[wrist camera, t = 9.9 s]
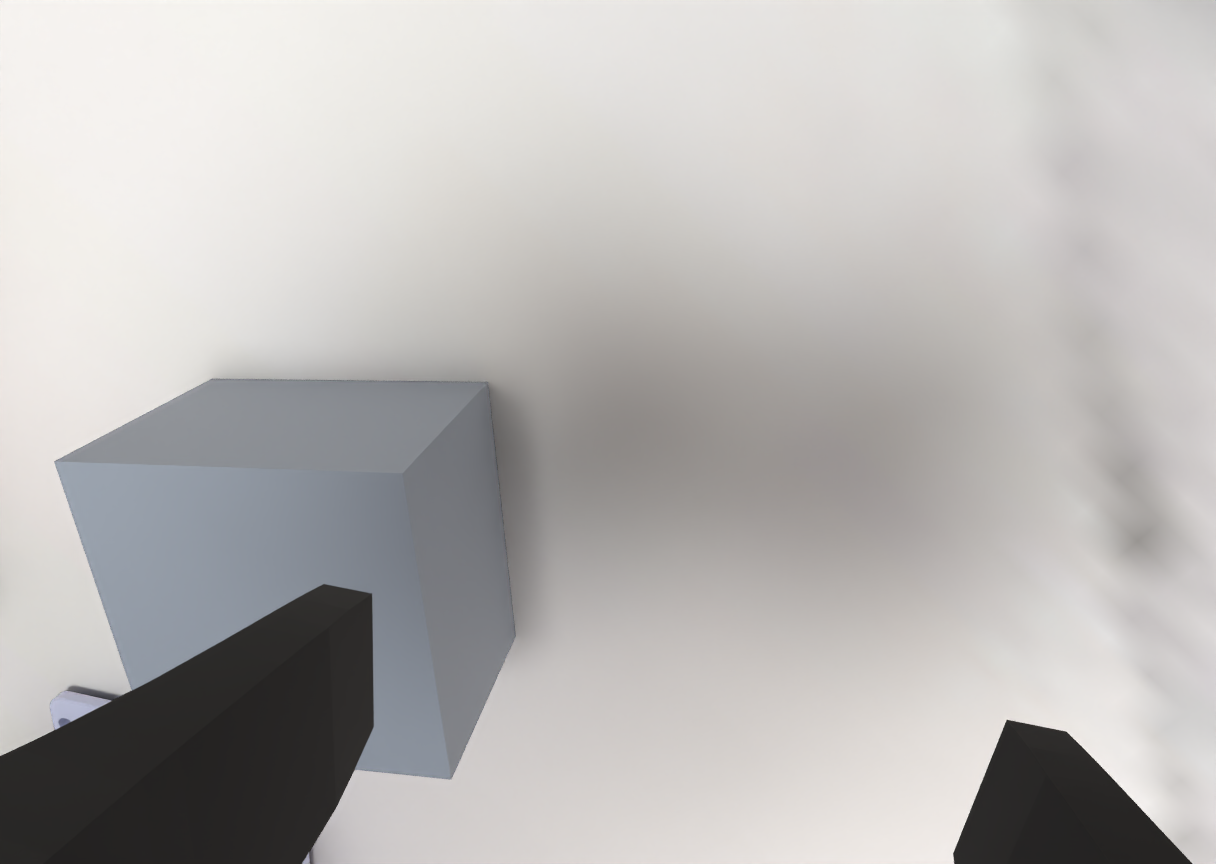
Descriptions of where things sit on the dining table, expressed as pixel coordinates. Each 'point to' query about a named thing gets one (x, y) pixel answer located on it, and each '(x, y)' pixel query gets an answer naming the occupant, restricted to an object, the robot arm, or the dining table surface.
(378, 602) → the slate block
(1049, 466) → the dining table surface
